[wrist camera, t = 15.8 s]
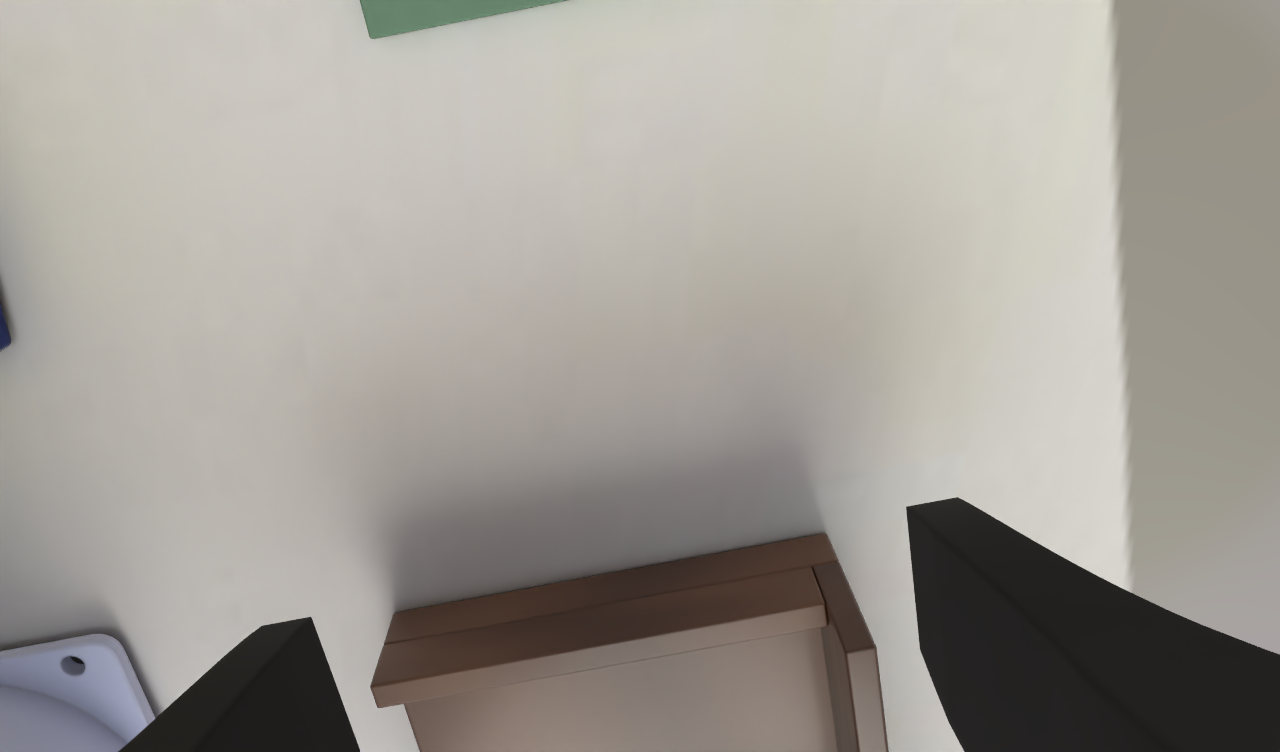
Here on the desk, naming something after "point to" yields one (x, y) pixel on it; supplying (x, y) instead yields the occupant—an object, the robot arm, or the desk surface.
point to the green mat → (433, 13)
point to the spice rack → (647, 661)
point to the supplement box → (3, 332)
